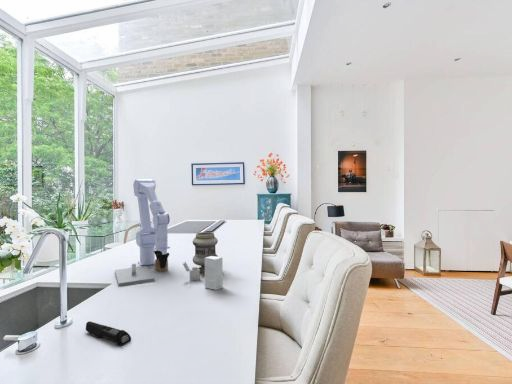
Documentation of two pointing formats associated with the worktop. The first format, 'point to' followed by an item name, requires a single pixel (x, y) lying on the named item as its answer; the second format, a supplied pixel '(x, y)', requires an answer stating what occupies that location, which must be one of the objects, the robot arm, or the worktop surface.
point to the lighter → (193, 272)
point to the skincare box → (213, 272)
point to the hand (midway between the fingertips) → (161, 266)
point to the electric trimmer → (108, 333)
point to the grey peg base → (133, 275)
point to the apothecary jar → (204, 248)
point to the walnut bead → (157, 266)
